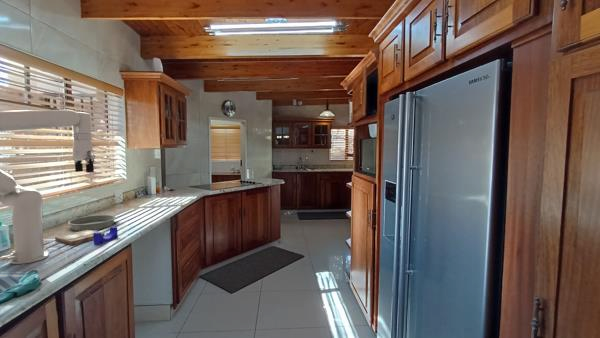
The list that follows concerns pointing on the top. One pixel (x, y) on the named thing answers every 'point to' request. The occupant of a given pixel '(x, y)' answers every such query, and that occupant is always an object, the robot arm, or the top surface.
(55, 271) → the top surface
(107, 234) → the blue curved stepped block
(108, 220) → the cake pan
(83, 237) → the mounting board
